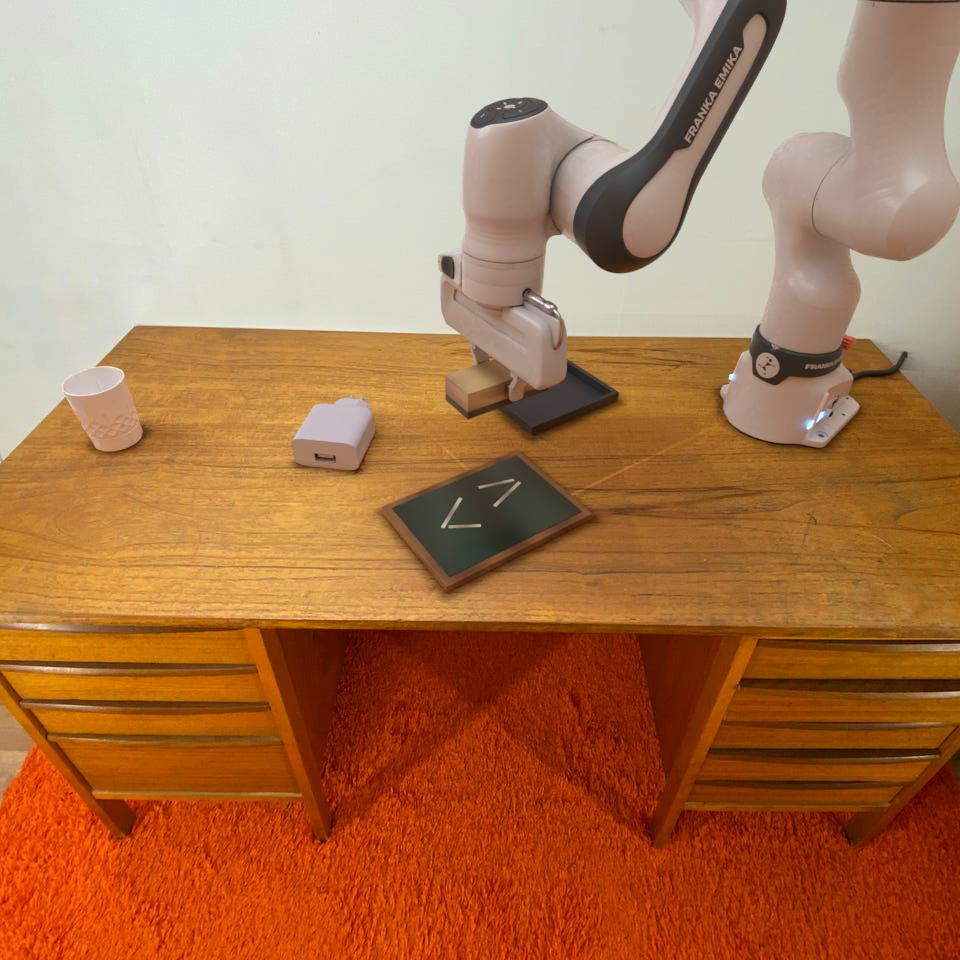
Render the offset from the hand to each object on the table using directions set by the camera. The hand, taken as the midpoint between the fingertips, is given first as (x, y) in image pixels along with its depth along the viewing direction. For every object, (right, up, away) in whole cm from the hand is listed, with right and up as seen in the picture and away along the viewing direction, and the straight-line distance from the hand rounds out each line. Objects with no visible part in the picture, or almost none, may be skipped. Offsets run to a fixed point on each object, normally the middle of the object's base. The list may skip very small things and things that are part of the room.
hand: (497, 385), depth 77 cm
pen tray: (+9, +1, +26) cm, 28 cm away
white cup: (-56, -5, +17) cm, 59 cm away
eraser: (0, -1, +1) cm, 1 cm away
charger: (-23, -5, +18) cm, 29 cm away
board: (-1, -16, +5) cm, 17 cm away
